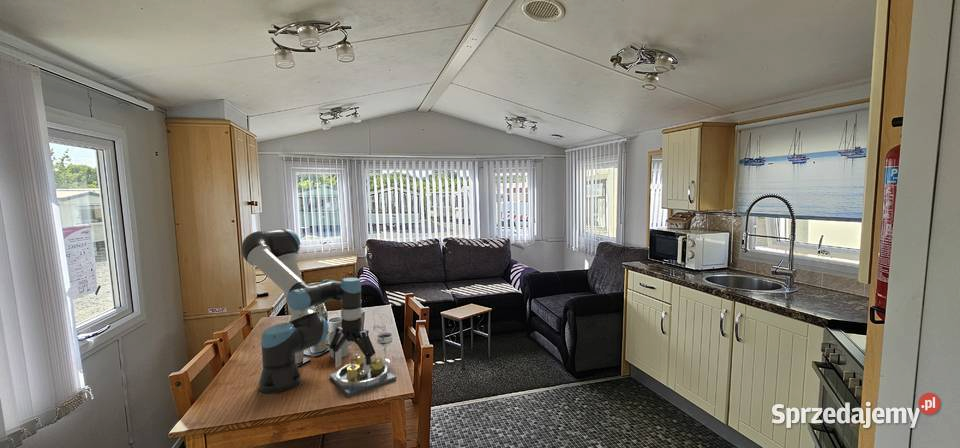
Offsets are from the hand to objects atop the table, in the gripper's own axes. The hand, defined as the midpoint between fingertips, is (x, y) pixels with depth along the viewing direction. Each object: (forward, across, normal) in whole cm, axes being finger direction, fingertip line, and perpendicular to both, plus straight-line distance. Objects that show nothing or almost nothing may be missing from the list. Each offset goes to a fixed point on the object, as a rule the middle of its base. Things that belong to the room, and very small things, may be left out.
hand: (352, 369), depth 152 cm
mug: (+7, +25, -24) cm, 35 cm away
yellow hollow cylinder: (+5, -1, 0) cm, 5 cm away
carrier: (+6, -1, -6) cm, 9 cm away
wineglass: (+7, 0, -24) cm, 24 cm away
